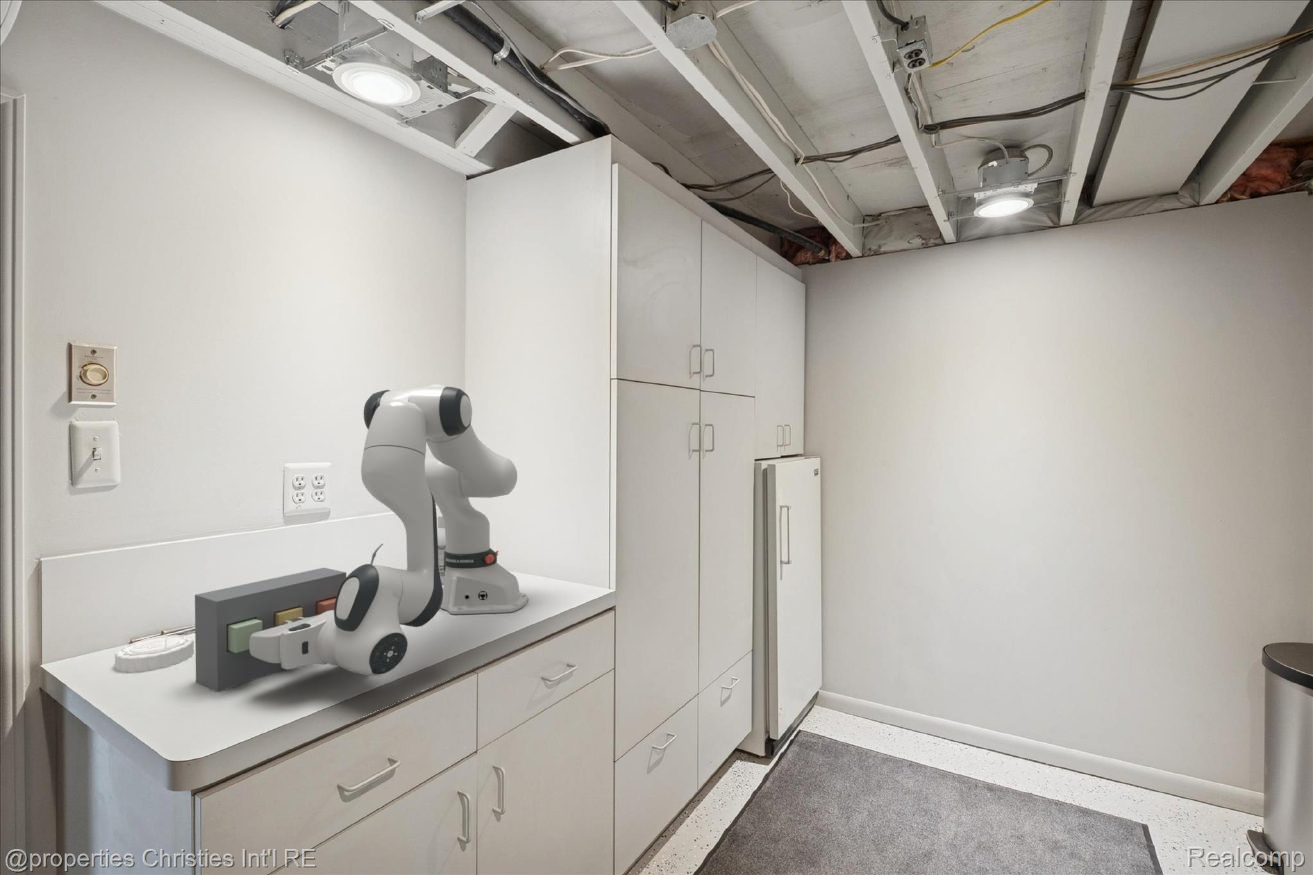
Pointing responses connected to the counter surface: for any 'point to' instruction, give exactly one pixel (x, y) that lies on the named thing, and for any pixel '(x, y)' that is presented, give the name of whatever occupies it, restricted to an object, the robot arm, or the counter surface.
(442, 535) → the bath foam
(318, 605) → the button brick
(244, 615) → the console
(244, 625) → the button sage
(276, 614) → the button ochre
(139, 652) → the mooncake
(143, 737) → the counter surface
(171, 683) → the counter surface
